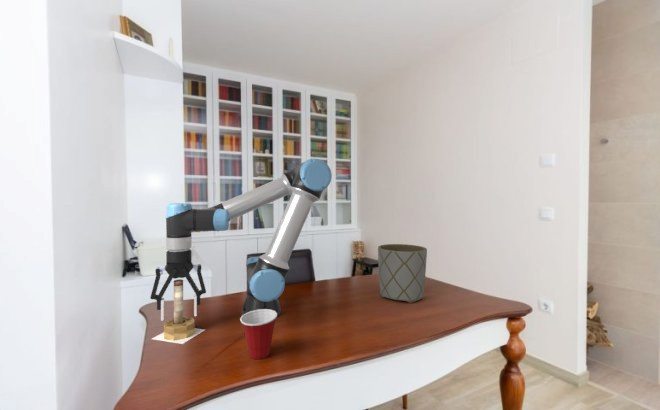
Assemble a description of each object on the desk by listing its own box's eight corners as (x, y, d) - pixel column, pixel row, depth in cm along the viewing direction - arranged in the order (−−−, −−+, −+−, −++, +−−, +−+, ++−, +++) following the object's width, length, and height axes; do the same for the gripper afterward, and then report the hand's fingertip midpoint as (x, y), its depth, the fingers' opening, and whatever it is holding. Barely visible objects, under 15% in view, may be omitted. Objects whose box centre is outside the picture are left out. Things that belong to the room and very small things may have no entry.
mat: (205, 332, 109) (205, 329, 108) (182, 347, 98) (182, 343, 98) (176, 328, 112) (176, 325, 112) (151, 341, 101) (151, 338, 101)
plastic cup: (234, 352, 95) (234, 313, 94) (267, 343, 101) (267, 306, 101) (248, 368, 86) (248, 325, 86) (283, 356, 93) (283, 316, 92)
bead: (199, 330, 108) (199, 318, 108) (180, 341, 99) (180, 329, 99) (178, 327, 110) (177, 315, 110) (157, 338, 102) (157, 325, 102)
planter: (431, 294, 154) (432, 246, 154) (417, 307, 135) (418, 253, 134) (388, 286, 166) (388, 242, 166) (369, 298, 147) (370, 248, 147)
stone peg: (185, 332, 106) (185, 279, 105) (179, 336, 103) (179, 281, 103) (178, 331, 107) (178, 279, 106) (171, 335, 104) (171, 281, 103)
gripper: (213, 246, 112) (213, 308, 113) (142, 249, 103) (142, 317, 104) (215, 249, 105) (215, 316, 106) (139, 253, 96) (139, 326, 97)
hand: (179, 316), depth 105 cm, fingers open, 9 cm apart
